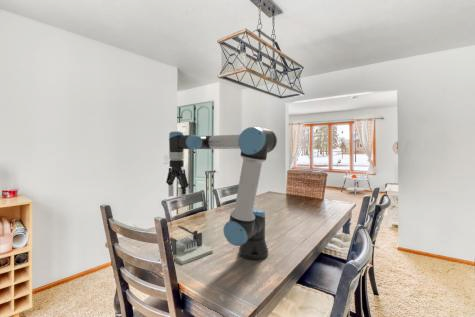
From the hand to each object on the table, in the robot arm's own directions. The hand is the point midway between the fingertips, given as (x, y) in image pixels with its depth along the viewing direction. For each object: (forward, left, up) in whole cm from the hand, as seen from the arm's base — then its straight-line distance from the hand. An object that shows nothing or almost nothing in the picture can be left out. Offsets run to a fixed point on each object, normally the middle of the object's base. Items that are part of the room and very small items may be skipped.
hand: (176, 198), depth 132 cm
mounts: (-10, +1, -25) cm, 27 cm away
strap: (-10, -1, -17) cm, 20 cm away
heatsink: (-10, +1, -25) cm, 27 cm away
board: (-10, +1, -26) cm, 28 cm away
